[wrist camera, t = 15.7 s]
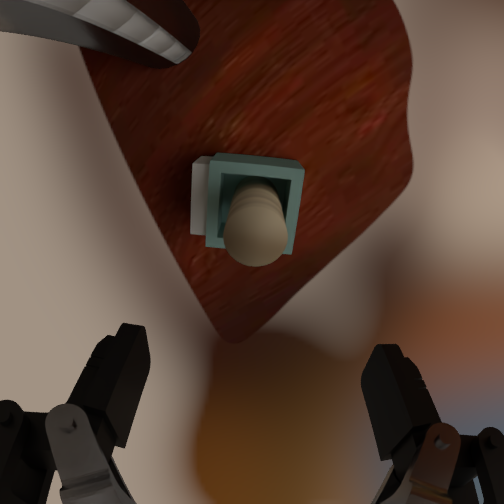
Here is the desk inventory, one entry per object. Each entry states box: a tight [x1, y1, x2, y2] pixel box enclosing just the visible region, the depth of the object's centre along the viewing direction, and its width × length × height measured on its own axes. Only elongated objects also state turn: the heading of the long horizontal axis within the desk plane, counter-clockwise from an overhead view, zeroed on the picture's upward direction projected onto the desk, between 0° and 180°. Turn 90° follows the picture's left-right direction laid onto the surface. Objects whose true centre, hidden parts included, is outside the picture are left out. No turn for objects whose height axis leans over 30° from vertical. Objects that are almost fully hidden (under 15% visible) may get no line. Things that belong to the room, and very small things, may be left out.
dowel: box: [223, 176, 288, 266], centre depth 23 cm, size 4×4×9 cm
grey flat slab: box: [190, 156, 213, 235], centre depth 26 cm, size 6×1×4 cm, turn 175°
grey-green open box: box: [206, 153, 305, 254], centre depth 26 cm, size 7×7×4 cm
